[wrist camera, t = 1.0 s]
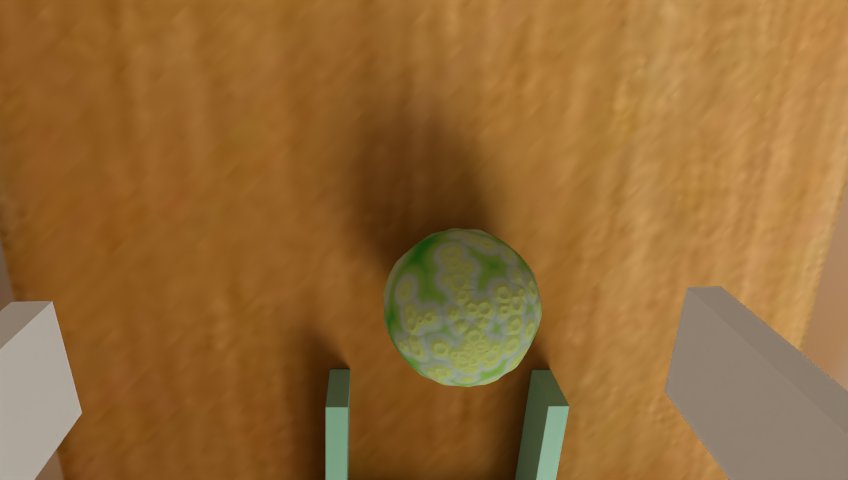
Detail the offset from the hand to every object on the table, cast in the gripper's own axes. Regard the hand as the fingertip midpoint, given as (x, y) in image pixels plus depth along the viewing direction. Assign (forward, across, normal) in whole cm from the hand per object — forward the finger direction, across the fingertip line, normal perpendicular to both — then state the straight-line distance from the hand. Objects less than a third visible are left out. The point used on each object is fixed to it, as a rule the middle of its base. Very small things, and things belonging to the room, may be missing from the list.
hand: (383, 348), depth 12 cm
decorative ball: (+26, +5, -11) cm, 29 cm away
